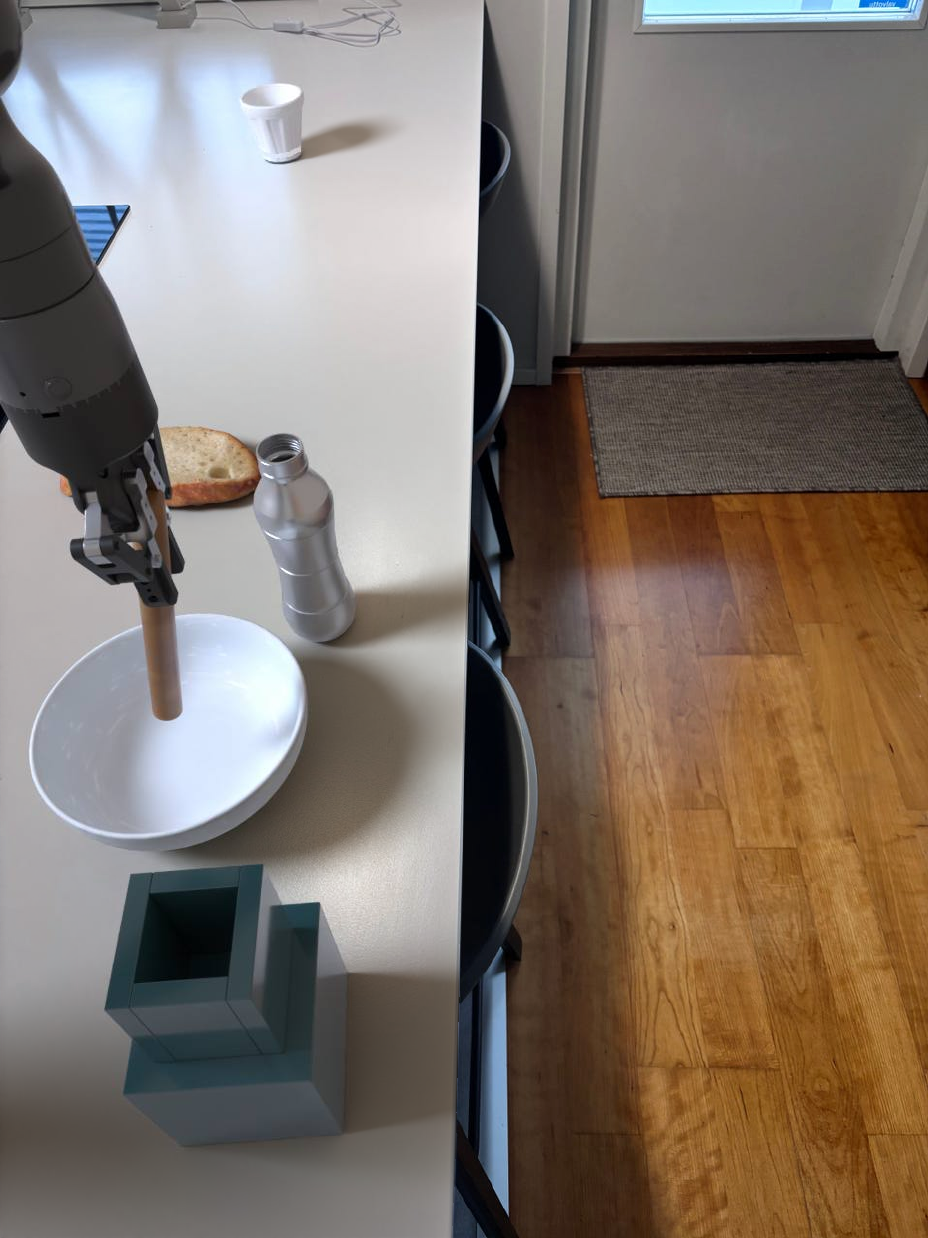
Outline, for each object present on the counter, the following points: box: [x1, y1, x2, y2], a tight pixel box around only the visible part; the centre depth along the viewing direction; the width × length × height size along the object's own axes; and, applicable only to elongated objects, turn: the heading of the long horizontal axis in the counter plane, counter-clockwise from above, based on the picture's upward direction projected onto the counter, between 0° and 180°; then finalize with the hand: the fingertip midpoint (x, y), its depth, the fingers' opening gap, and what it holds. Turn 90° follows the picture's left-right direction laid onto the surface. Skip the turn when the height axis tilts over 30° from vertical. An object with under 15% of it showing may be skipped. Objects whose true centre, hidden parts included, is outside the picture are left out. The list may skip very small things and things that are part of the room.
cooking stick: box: [131, 487, 183, 721], centre depth 65 cm, size 2×2×20 cm
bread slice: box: [59, 425, 262, 508], centre depth 99 cm, size 18×18×4 cm
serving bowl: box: [28, 612, 309, 852], centre depth 74 cm, size 21×21×7 cm
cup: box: [238, 82, 305, 165], centre depth 151 cm, size 10×10×9 cm
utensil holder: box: [103, 863, 349, 1147], centre depth 54 cm, size 10×10×19 cm
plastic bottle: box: [252, 432, 357, 643], centre depth 78 cm, size 6×7×20 cm
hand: (166, 585), depth 63 cm, fingers closed on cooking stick, 2 cm apart
